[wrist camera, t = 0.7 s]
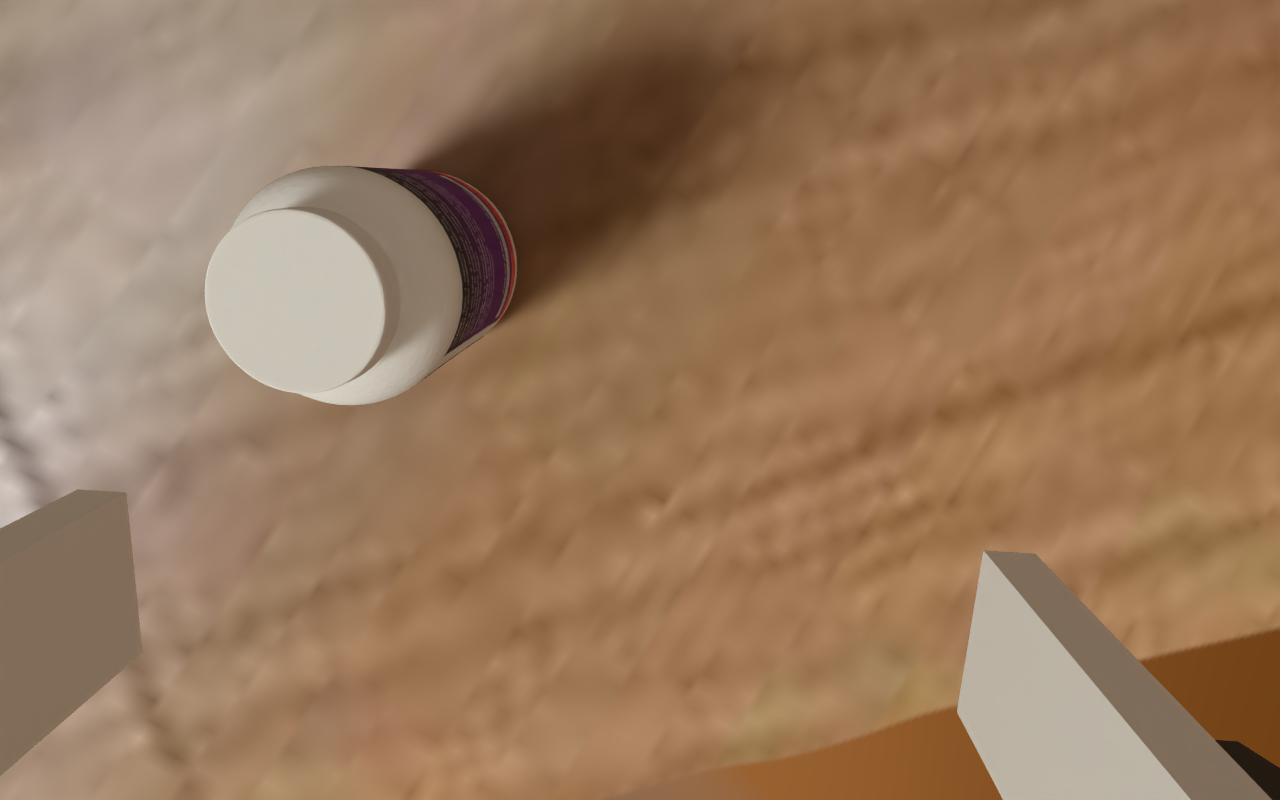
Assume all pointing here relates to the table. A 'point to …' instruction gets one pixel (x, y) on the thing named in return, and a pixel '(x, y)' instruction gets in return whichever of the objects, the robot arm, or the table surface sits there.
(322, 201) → the pill bottle
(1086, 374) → the table surface
